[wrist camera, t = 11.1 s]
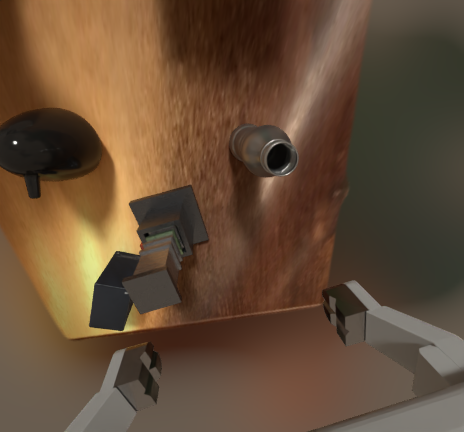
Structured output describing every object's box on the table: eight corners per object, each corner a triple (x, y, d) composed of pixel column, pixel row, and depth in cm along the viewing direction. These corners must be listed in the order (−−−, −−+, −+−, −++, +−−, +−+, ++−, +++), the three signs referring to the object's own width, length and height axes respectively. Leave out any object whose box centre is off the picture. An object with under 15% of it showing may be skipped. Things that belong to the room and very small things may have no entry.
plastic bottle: (249, 166, 43) (286, 200, 25) (220, 146, 41) (238, 167, 23) (269, 138, 41) (325, 151, 23) (240, 115, 39) (277, 110, 21)
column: (148, 225, 38) (121, 282, 25) (177, 217, 38) (166, 269, 25) (159, 249, 40) (140, 314, 27) (186, 242, 41) (181, 302, 27)
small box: (114, 249, 46) (92, 283, 36) (146, 255, 48) (133, 289, 38) (107, 288, 49) (86, 328, 40) (138, 292, 51) (124, 332, 42)
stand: (130, 201, 42) (113, 221, 34) (191, 184, 43) (189, 200, 34) (154, 251, 47) (144, 280, 39) (208, 236, 48) (210, 261, 39)
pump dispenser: (57, 176, 39) (-20, 207, 25) (31, 111, 35) (-79, 105, 21) (117, 170, 40) (75, 197, 26) (99, 106, 36) (37, 98, 22)
